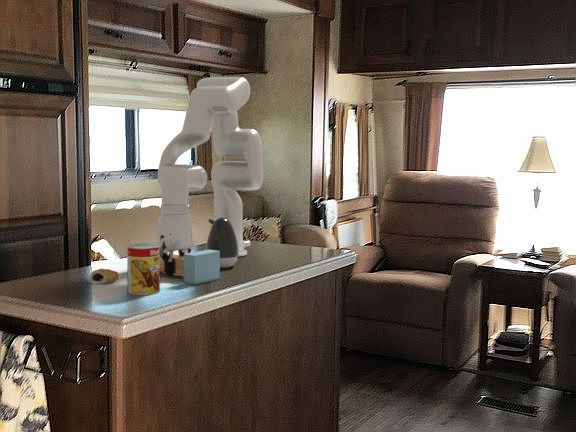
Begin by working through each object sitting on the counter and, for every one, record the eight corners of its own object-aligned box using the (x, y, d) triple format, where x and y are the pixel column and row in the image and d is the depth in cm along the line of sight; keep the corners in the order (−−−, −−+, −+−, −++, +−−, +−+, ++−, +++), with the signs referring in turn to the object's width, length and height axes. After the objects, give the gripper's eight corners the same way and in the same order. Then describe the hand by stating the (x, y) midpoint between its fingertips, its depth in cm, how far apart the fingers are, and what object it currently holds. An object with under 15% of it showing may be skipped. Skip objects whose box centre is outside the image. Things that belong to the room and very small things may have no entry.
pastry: (102, 277, 198) (102, 264, 198) (124, 279, 197) (124, 265, 196) (86, 284, 189) (85, 270, 189) (108, 285, 188) (108, 271, 187)
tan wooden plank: (150, 266, 209) (150, 249, 208) (201, 274, 197) (201, 257, 196) (138, 268, 205) (137, 251, 204) (188, 277, 193) (188, 259, 192)
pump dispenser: (220, 262, 223) (219, 215, 221) (245, 266, 217) (245, 217, 215) (198, 267, 214) (197, 217, 213) (224, 271, 208) (223, 220, 207)
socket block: (209, 277, 198) (209, 249, 198) (219, 279, 196) (219, 251, 195) (184, 283, 190) (184, 254, 189) (194, 285, 188) (194, 255, 187)
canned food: (161, 294, 177) (160, 247, 175) (129, 296, 175) (128, 248, 173) (158, 287, 184) (157, 242, 183) (127, 289, 182) (126, 243, 181)
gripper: (186, 207, 206) (187, 268, 208) (143, 211, 193) (144, 276, 195) (205, 208, 202) (205, 271, 204) (162, 213, 188) (163, 280, 190)
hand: (175, 273), depth 199 cm, fingers closed on tan wooden plank, 4 cm apart
